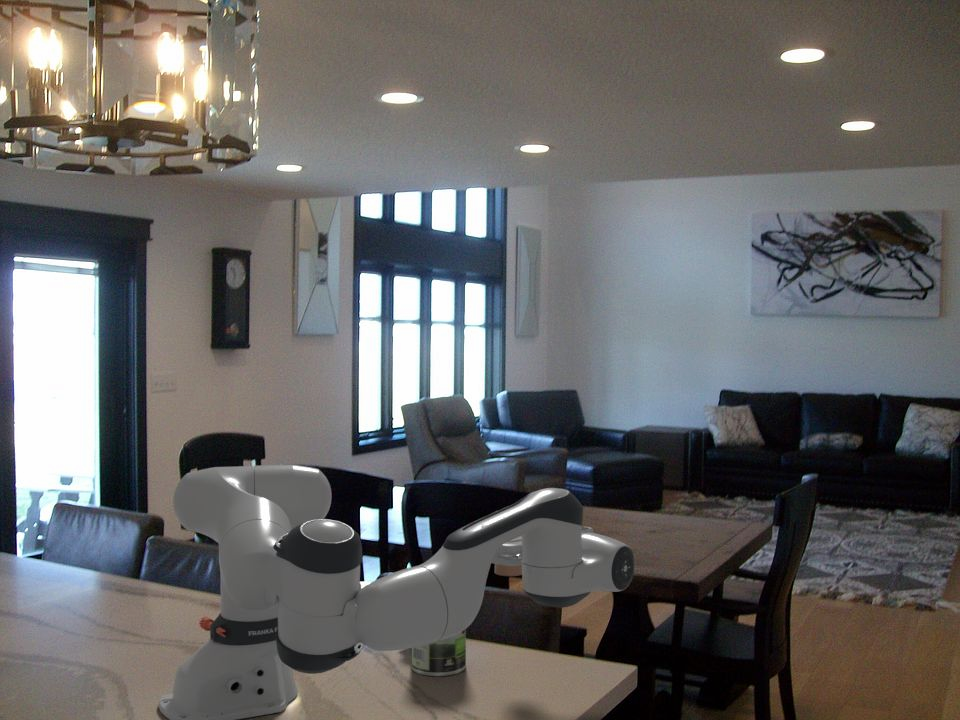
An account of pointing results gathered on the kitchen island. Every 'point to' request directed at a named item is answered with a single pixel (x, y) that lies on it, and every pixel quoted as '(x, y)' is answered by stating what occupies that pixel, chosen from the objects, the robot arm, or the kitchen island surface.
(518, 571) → the tan rounded cylinder
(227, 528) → the robot arm
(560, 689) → the kitchen island surface
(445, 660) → the coffee can
